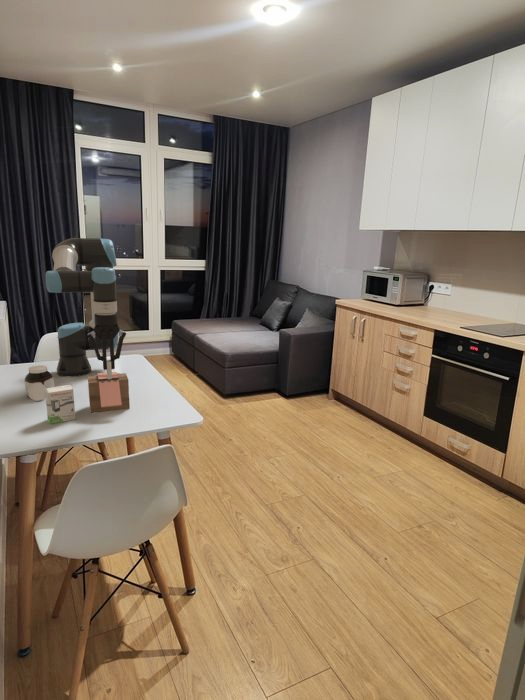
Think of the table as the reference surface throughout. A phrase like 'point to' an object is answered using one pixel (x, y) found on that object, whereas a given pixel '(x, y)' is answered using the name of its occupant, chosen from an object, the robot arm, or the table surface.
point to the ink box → (60, 404)
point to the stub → (110, 393)
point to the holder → (95, 392)
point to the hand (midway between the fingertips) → (109, 377)
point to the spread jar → (38, 382)
